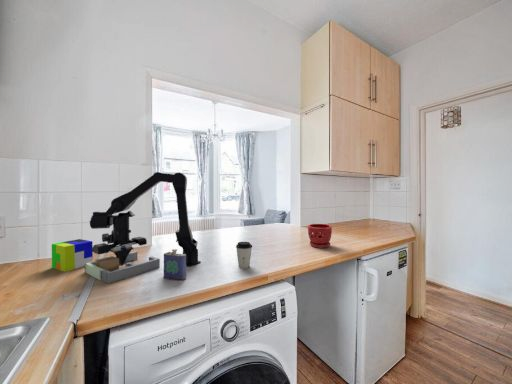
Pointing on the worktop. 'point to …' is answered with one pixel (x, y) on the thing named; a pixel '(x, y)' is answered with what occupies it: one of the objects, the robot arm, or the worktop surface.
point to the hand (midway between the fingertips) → (121, 265)
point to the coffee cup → (244, 254)
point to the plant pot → (319, 235)
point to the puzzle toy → (71, 254)
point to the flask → (174, 266)
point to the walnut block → (108, 263)
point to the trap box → (124, 272)
